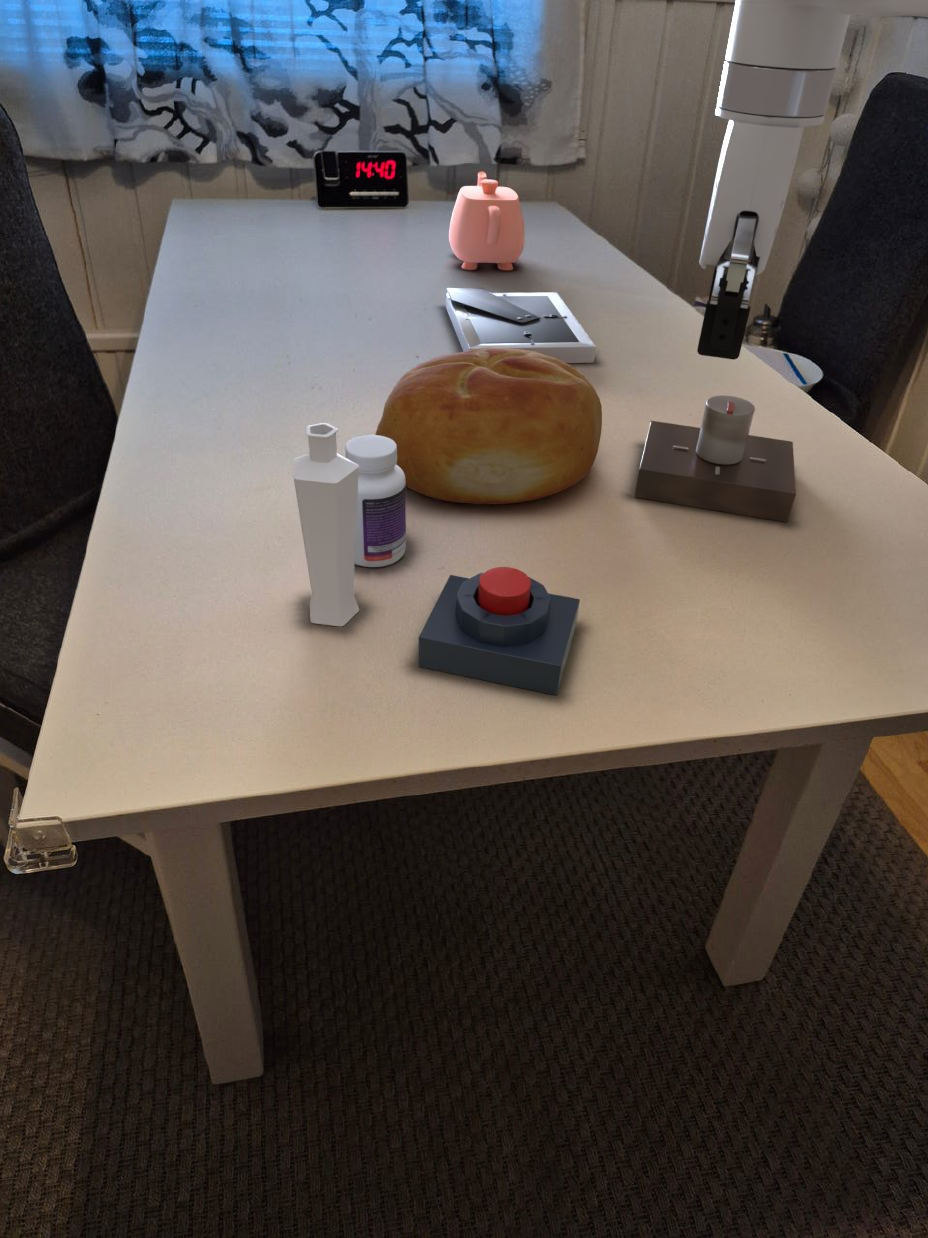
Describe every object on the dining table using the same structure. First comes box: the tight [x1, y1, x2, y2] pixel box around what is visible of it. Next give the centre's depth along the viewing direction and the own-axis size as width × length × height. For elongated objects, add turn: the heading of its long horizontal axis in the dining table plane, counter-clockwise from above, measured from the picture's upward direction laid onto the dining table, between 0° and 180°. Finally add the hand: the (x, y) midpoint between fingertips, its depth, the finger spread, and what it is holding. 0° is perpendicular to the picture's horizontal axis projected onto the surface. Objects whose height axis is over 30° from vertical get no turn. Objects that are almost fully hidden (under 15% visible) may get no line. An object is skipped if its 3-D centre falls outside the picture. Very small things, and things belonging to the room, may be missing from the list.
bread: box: [374, 347, 603, 505], centre depth 84 cm, size 23×23×10 cm
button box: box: [418, 572, 581, 696], centre depth 63 cm, size 10×8×4 cm
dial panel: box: [633, 420, 797, 523], centre depth 85 cm, size 14×11×3 cm
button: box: [478, 566, 531, 616], centre depth 61 cm, size 4×4×2 cm
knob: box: [696, 395, 756, 465], centre depth 82 cm, size 4×4×5 cm
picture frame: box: [445, 287, 597, 364], centre depth 115 cm, size 16×3×21 cm
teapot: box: [448, 170, 526, 271], centre depth 139 cm, size 20×12×12 cm, turn 6°
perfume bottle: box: [292, 422, 360, 627], centre depth 62 cm, size 5×4×15 cm
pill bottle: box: [344, 434, 407, 568], centre depth 71 cm, size 5×5×10 cm
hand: (721, 335), depth 72 cm, fingers open, 9 cm apart
